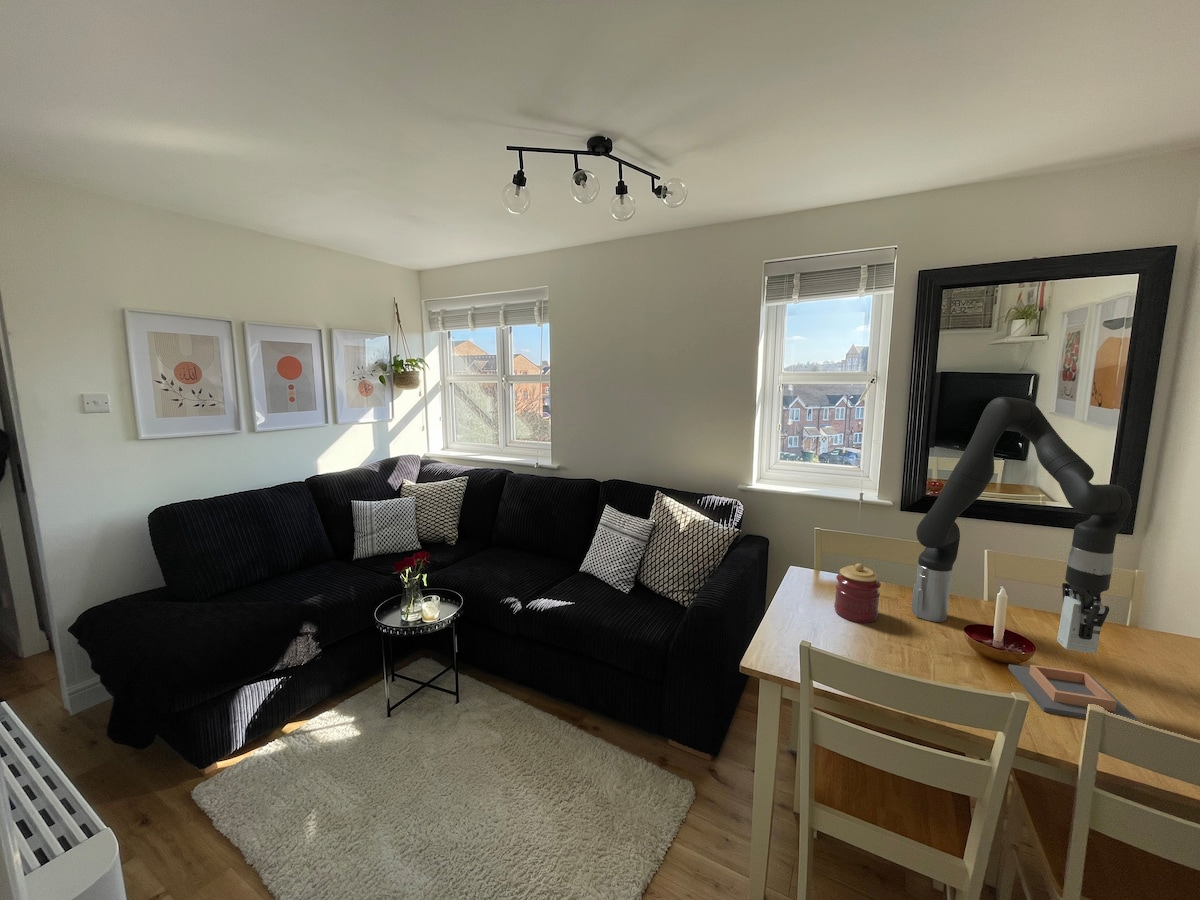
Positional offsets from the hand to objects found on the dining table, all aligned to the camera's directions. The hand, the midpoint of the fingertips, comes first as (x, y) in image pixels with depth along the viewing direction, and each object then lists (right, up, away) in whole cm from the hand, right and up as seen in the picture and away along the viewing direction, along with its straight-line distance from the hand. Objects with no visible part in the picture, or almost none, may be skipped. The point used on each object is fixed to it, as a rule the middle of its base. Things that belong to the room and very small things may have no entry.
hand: (1078, 633), depth 119 cm
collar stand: (0, -17, +3) cm, 17 cm away
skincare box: (0, -4, +1) cm, 4 cm away
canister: (-31, -10, +44) cm, 55 cm away
